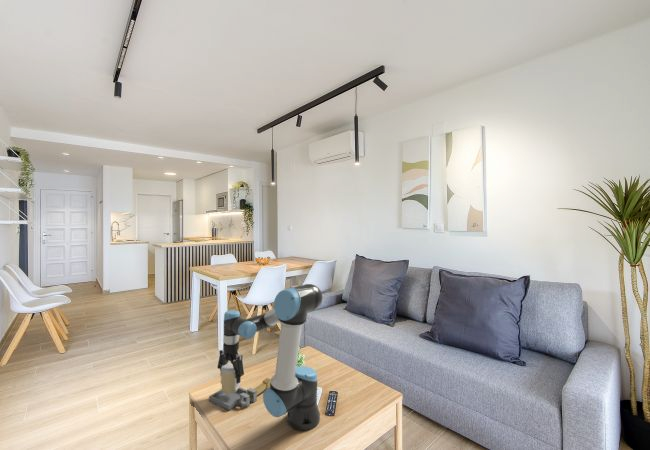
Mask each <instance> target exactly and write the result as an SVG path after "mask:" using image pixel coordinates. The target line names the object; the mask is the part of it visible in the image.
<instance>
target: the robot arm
mask: <svg viewBox="0 0 650 450" xmlns="http://www.w3.org/2000/svg"><path fill="white" fill-rule="evenodd" d="M323 297H324V296H323V293H322V291H321V289H320V288H319V287H318V286H317V285H315V284H312V283H306V284H302V285H298V286H294V287H293V286H292V287H288V288H285V289H283V290H280V291H279V292H278V293H277V294H276V295H275V298H274V301H273V308H271V309H270V310H268V311H266V312H263V313H262V314H258V315H256V316H252V317H248V318H242V317H241V314H240V311H239V310H234V309H231V310H227V311H225V312H224V316H223V338H222V341H223V345H222V349H221V350H219V357H218V358H219V359H218V363H217V369H219V371H220V372H221V367H222V366H224V365H226V364H227V363H229V362H231V364H233V368H234V370H235V375H236V377H235V385H234V390H237V389H238V388H241V387H240V386H241V385H240V383H241V379H242V377H243V376H244V375H245V371H244V365H243V364H244V363H243V355H242V354H239V353H238V351H239V349H240V342H239V340H240V337H241V338H245V339H252V338H253V336H255V335H256V334H257V333H258V332H260V331H265V330H267V329H270V328H272V327H275V326H276V325H277V324H279V323H280V330H279V337H278V338H279V339H278V346H277V347H278V348H277V356H276V363H275V372H274V374H273V375H272V377H270V379H271V382H270V388H269V389H265V390H264V391H263V393H262V399H263V400H262V401H263V405H264V407H265V409H266V410H267V412H268V414H270V415H271V416H272V417H274V418H280V417H283V416H285V415H287V416H286V423H287V424H288V425H289V427H290V428H292V429H294V430H297V431H309V430H311V429H314V428H315V427H317V426H318V425H319V423H320V420H321V413H320V410H319V406H318V402H317V400H318V397H317V396H318V380H319V379H318V373H317V371H316V370H315V369H314V368H312V367H309V366H302V365H300V366H298V359H299V352H300V351H299V349H300V343H301V336H302V329H303V326H304V324H306V322H307V319H308V318H307V317H308V313H311V312H313V311H315V310H317V309H318V308H319V307H321V305H322V303H323ZM220 376H221V373H220ZM220 385H222V381H221V380H220Z"/></svg>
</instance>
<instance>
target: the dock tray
mask: <svg viewBox="0 0 650 450" xmlns="http://www.w3.org/2000/svg"><path fill="white" fill-rule="evenodd" d="M249 392H251V393H253V398H250V395H249ZM208 401H209V402H210V403H212V404H214V405H215V406H218V407H220V408H222V409H225V411H232V410H233V409H234V408H236V407H237V406H238V405H239V406H241V407H243V408H246V409H248V408H249V407H250V405H251V403H256V402H257V401H258V395H257V390H254V388H251V387H248V389H245V388H243V387H240V388H238V390H237V391H236V392H235V393H232V394H225V393H223V392H222V388H221V389H219V390H217V391H215V392H214V393H213V394H210V395H209V397H208ZM250 402H251V403H250Z"/></svg>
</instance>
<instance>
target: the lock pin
mask: <svg viewBox="0 0 650 450" xmlns="http://www.w3.org/2000/svg"><path fill="white" fill-rule="evenodd" d="M270 382H271V378H268V377H266V378H265V379H264V380H262V383H261V384H259V385H258V386H256V387H255V388H253V389H254V390H257V396H258V395H259V394H261V393H262V392H264V391H265V390H266V389H269V388H270ZM249 395H250V398H253V393H251V392H249Z"/></svg>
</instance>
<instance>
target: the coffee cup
mask: <svg viewBox="0 0 650 450" xmlns="http://www.w3.org/2000/svg"><path fill="white" fill-rule="evenodd" d="M220 374H221V375H220V382H221V381H222V384H221V389H222V392H223V393H225V394H232V393H235V392H236V391H237V390H238V389H237V390H234V385H235V377H236V375H235V370H234V368H233V364H231V361H229V362H228V363H227V364H226V365H224V366H222V367H221V371H220Z"/></svg>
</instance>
